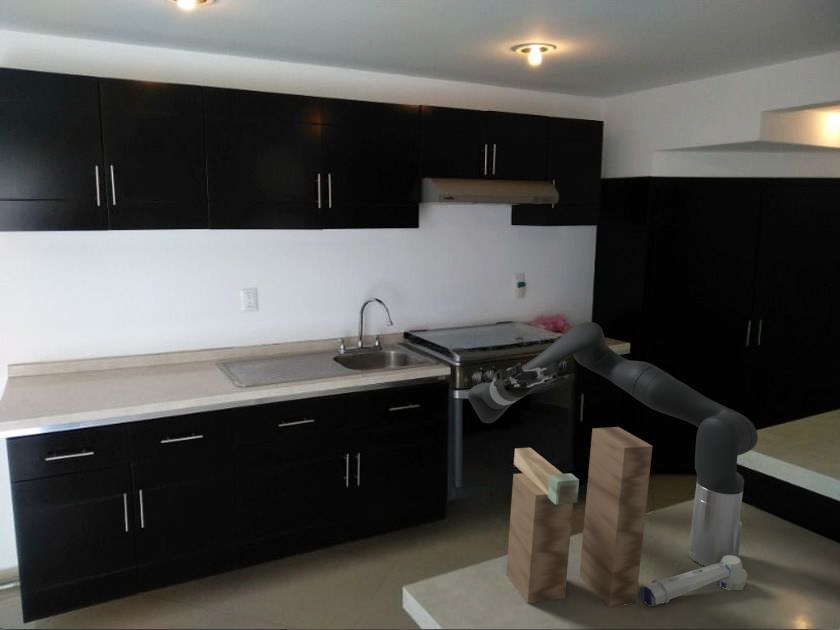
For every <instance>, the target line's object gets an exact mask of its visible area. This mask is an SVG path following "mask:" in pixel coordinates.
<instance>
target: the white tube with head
mask: <svg viewBox="0 0 840 630" xmlns="http://www.w3.org/2000/svg"><path fill="white" fill-rule="evenodd" d="M747 578H748V573H747V571H746V569H744V568H743V563H742V560H741V559H740V557H739V556H738V557H736V556H733V555H727V556H724V557H723V558H722V560H721V562H720V563H717V564H714V565H710V566H707V567H706V566H704V567H700V568H697V569H694V570H691V571H686V572H684V573H683V572H682V573H681V574H677V575H673V576H670V577H666V578H663V579H661V580H660V579H658V578H656V579H655V580H652V581H651V583H649V584H646V585H643V586H641V587H639V597H640V599H641V601H642V600H643V601H644V602H646V603H647V604H648V605H650V606H651V607H650V608H652V607H654V605H655V606H657V605H660V604H663V603H662V602H664V603H665V604H668V603H669V602H670V601H671V600H672V599H675V598H678V597H679V596H682V595H685V594H687V593H691V592H693V591H695V590H697V589H700V588H702V587H705V586H707V585H710V584H712V583H715V582H717V581H718V583H717V584H719V585H721V586H722V587H724V588H727V589H731V590H730V591H736V590H740V591H743V590H744V587H745V586H746V581H747ZM719 585H718V586H719ZM722 587H721V588H722ZM643 601H642V602H643ZM644 602H643V603H644ZM647 604H646V605H647ZM648 605H647V606H648Z"/></svg>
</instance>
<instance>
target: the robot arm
mask: <svg viewBox="0 0 840 630" xmlns="http://www.w3.org/2000/svg"><path fill="white" fill-rule="evenodd" d="M571 356H573V357H574V360H576V362H577V363H578V364H580V365H581V366H582V367H585V368H586V369H588V370H590V371H592V372H594V373H595V374H598V375H599V376H601V377H604V378H606V379H607V380H609V381H610V382H611V383H613V384H614V385H615V386H617V387H618V388H621V390H623V391H625V392H626V393H628V394H629V395H630V396H632V397H633V398H635V399H636V400H638V401H639V402H640V403H642V404H644V405H645V406H647V407H648V408H650V409H652V410H654V411H656V412H659V413H661V414H665V415H667V416H670V417H673V418H677V419H680V420H682V421H685V422H688V423H690V424H692V425H694V426H695V427H698V428H697V429H698V430H697V433H696V441H695V451H694V452H695V453H694V469H695V472H696V475H697V476H696V484H695V485H696V486H695V487H696V488H695V493H694V501H693V509H692V510H693V511H692V518H691V519H692V520H691V527H690V528H691V529H690V536H689V538H690V539H689V545H688V546H689V547H688V553H689V554H688V556H689V557H690V559H691V560H692V561H694V562H695V561H696V562H695V563H697V562H698V563H697V564H699V565H701V566H703V565H704V567H707V566H710V565H714V564H717V563H720V562H721V560H722V558H723V557H724V556H727V555H733V556H736V557H738V558H739V552H740V546H741V540H742V539H741V538H742V537H741V536H742V529H743V523H742V521H740V516H741V510H742V509H741V507H742V500H743V494H744V488H745V487H744V485H745V479H744V477H743V475H741V474H740V473H739V472H737V467H738V456H741V455H744V454H747V453H748V452H750V451H752V450H753V449H754V448H755V447H756V446H757V443H758V439H759V437H758V431H757V429H756V426H755V425H754V424H753V422H752V421H751V420H750V419H749V418H748V417H746V416H745V415H743V414H741V413H739V412H738V411H735V410H734V409H732V408H729V407H727V406H724V405H723V404H720V403H718V402H716V401H714V400H712V399H711V398H708V397H706V396H705V395H702V394H701V393H700V392H698V391H697V390H695V389H693V388H691V387H690V386H689V385H687V384H686V383H683V382H682V381H680V380H678V379H677V378H675V377H674V376H672V375H671V374H669V373H668V372H666V371H664V370H663V369H661V368H660V367H658V366H656V365H653V364H652V363H649V362H646V361H641V360H640V361H639V360H630V359H627V358H625V357H622V356H621V355H619V353H617V352H615V350H612V349H611V347H610V346H609V345H608V343H607V341H606V337H605V335H604V332H603V328H602V327H601V326H600V325H599V324H597V323H595V322H592V321H585V322H582V323H579V324H577V325H575V326H574V327H572V328H571V329H569V330H568V331H567V332H566V333H564V334H563V335H562V336H561V337H560V338H558V339H557V340H555V341H554V342H553V343H552V344H550V345H549V346H548V347H547V348H546V349H544V350H543V351H542V352H540V354H539V355H537V356H535V357H534V358H533V359H531V360H530V361H529V362H527V363H525V364H523V365H522V364H521V363H517V364H516V365H514V366H512V367H508V368H507V369H506V370H505V369H504V368H500V369H498V370H497V371H495V373H494V374H492V376H491V377H492V381H491V382H481V383H478V384H476V385H474V386H472V387H471V388H470V390H469V391H468V395H467V396H468V397H467V398H468V400H469V402H470V404H471V405H472V408H473V409H474V411H475V413H476V414H477V415H476V416H478V419H480V421H481V422H482V423H485V424H492V423H494V422H495V421H497V420H498V419H499V418H500V417H501V416H502V415H503V414H504V413H505V412H506V411H507V410H508V409H509V408H510V407H511V406H512V405H513V404H514V403H515V402H517V401H519V400H520V399H522V398H524V397H526V396H527V395H528V394H530V393H532V392H533V391H535V390H537V389H538V388H539V387H541V386H542V385H545V386H546V385H548V384H549V383H552V382H553V381H555V380H558V379H559V376H558V373H559V366H560V365H561V363H563V362H564V361H565V360H567V359H569V358H570V357H571Z"/></svg>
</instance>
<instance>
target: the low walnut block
mask: <svg viewBox="0 0 840 630" xmlns="http://www.w3.org/2000/svg"><path fill="white" fill-rule="evenodd" d="M510 503H511V505H510V518H509V519H510V520H509V534H508V544H507V545H508V548H507V558H506V559H507V560H506V574H505V575H506V576H507V578H508V579H509V581H510V582H511V583H512V585H513V586H514V587H515V589H516V590H517V591H518V592H519V594H520V596H521V597H522V598H523V599H524V601H525V602H526V604H533V603H541V602H547V601H548V602H549V601H554V600H555V601H556V600H562V599H566V588H567V577H568V576H567V575H568V566H569V565H568V564H569V557H570V556H569V554H570V542H571V533H572V532H571V531H572V530H571V529H572V520H573V519H572V518H573V509H574V508H573V507H574V506H573V505H574V503H568V504H557V505H555V504H554V503H553V502H552V501H551V500H550V499H549V498H548V495H547V494H546V493H545V492H544V491H542V490H541V489H540V488H539V487H538V486H537V485H536V484H535V483H534V482H533V481H531V480H530V479H529V478H528V477H527V476H526V475H525V474H524V473H523V472H521V473H513V477H512V489H511V502H510Z"/></svg>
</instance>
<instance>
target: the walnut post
mask: <svg viewBox="0 0 840 630" xmlns="http://www.w3.org/2000/svg"><path fill="white" fill-rule="evenodd" d="M590 444H591V445H590V450H589V455H590V456H589V462H588V463H589V465H588V473H587V474H588V475H587V476H588V477H587V486H586V488H587V489H586V499H585V510H584V519H583V520H584V521H583V522H584V523H583V532H582V542H581V554H580V565H579V566H580V567H579V575H578V576H579V577H580V578H581V579H582V580H583V582H585V584H587V586H588V587H589V588H590V589H591V590H592V591H593V592H594V593H595V594H596V595H597V596H598V598H600V600H601V601H602V602H604V603H605V605H606V606H607V607H608V608H613V607H620V606H621V605H622V606H625V605H624V604H629V605H632V604H631V603H635V604H637V599H638V598H637V597H638V590H639V581H640V580H639V579H640V569H641V560H642V549H643V543H644V542H643V539H644V531H645V520H646V513H647V512H646V511H647V510H646V509H647V504H648V503H647V502H648V492H649V482H650V472H651V466H652V465H651V464H652V463H651V462H652V455H653V454H652V453H653V445H651V444H649V443H648V442H646V441H645V440H642V439H641V438H639V437H637V436H635V435H633V434H632V433H630V432H628V431H627V430H624V428H621V427H619V426H614V427H612V426H611V427H597V428H596V427H595V428H594V427H592V431H591V441H590ZM622 606H621V607H622Z"/></svg>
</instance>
